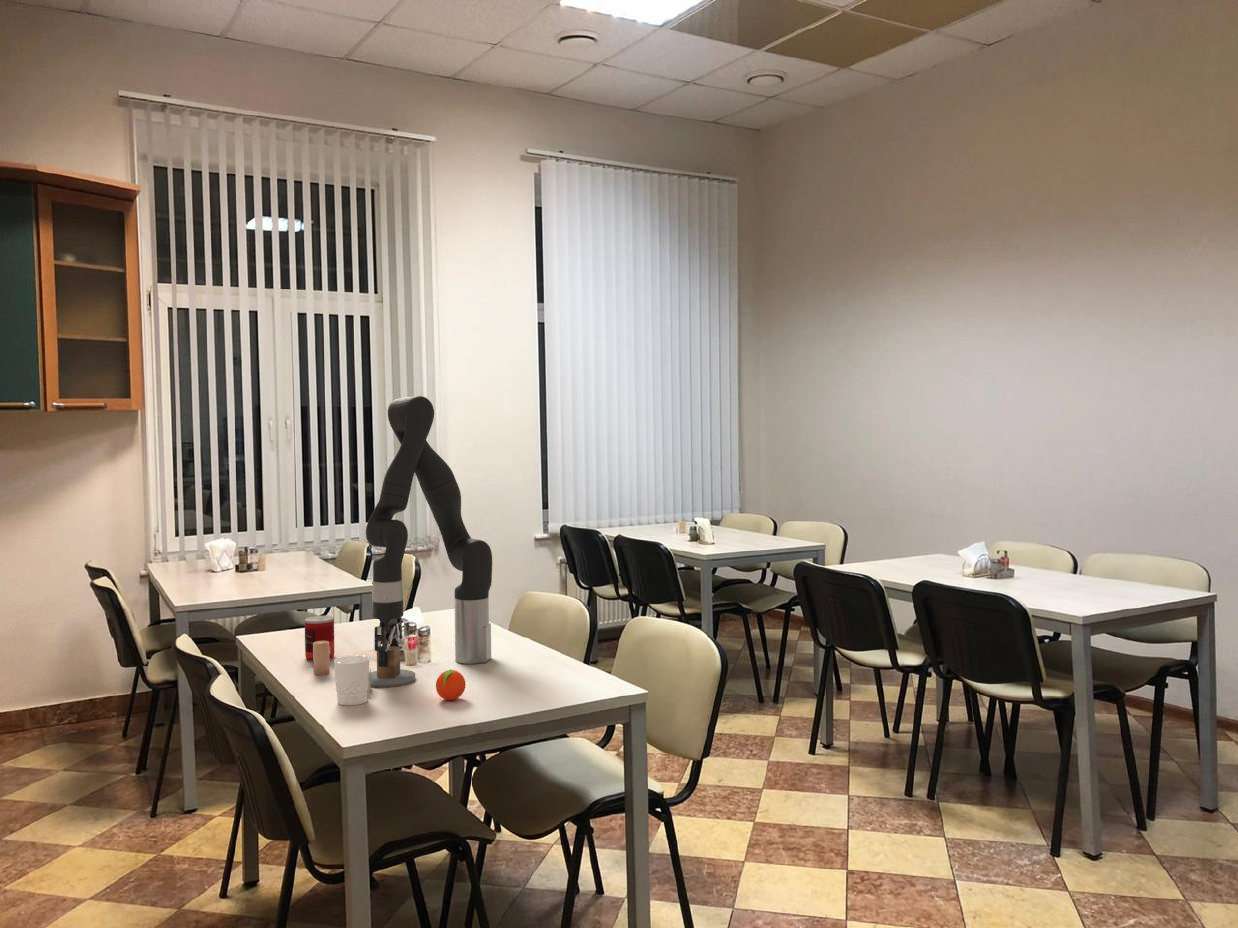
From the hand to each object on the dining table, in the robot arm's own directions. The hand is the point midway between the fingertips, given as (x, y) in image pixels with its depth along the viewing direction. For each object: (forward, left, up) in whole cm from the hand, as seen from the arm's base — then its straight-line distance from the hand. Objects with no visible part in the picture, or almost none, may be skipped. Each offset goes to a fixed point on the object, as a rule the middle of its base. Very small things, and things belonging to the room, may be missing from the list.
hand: (389, 662), depth 245 cm
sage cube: (+4, +10, -5) cm, 12 cm away
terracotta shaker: (+20, -6, -5) cm, 21 cm away
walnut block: (0, 0, -3) cm, 3 cm away
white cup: (+3, +19, -5) cm, 20 cm away
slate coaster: (0, 0, -5) cm, 5 cm away
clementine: (-20, +16, -5) cm, 26 cm away
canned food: (+27, -22, -5) cm, 35 cm away
